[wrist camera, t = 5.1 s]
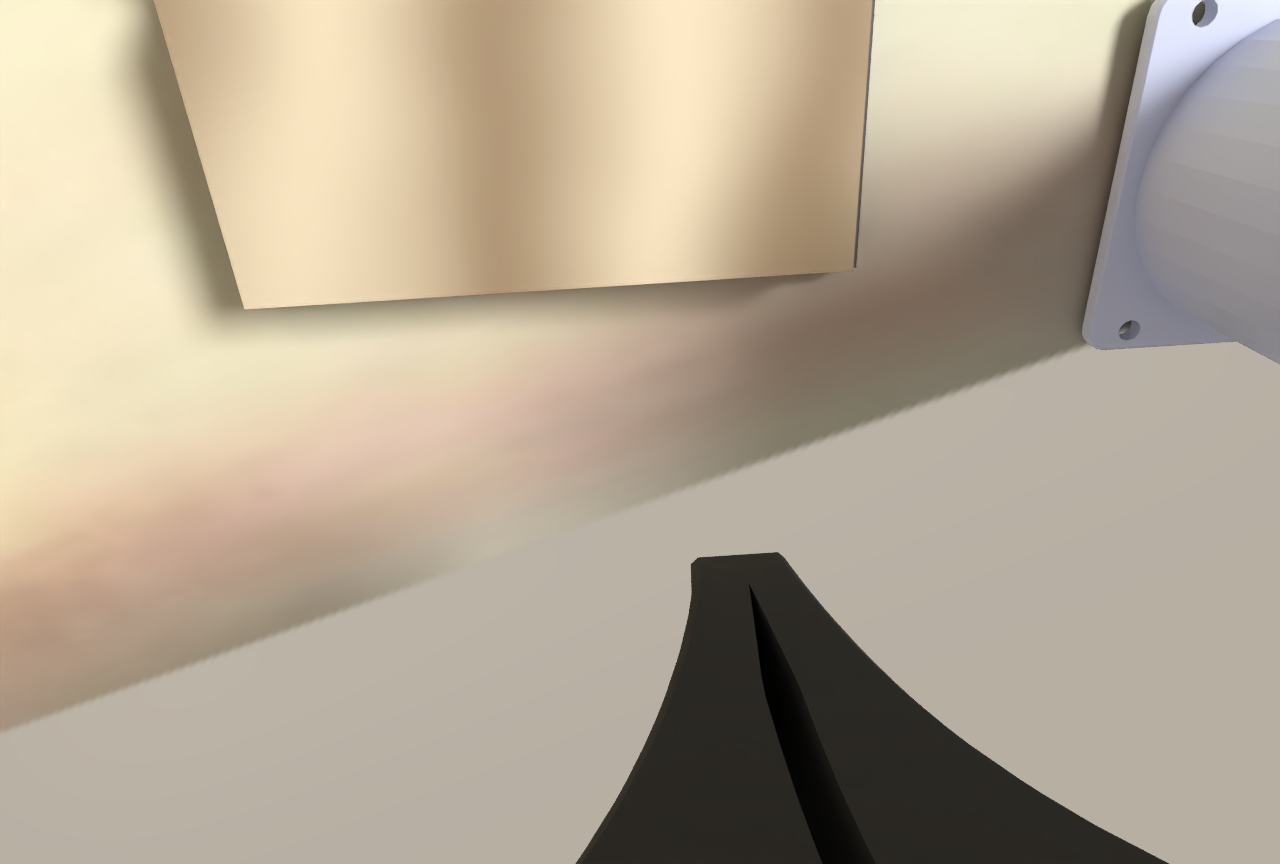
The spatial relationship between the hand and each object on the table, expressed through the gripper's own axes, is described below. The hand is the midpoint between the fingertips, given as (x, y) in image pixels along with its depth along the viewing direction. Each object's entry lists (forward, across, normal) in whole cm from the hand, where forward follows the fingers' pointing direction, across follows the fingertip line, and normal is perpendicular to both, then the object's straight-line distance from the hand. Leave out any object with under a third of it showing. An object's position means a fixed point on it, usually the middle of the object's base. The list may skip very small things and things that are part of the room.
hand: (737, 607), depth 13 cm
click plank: (+9, +3, -6) cm, 11 cm away
